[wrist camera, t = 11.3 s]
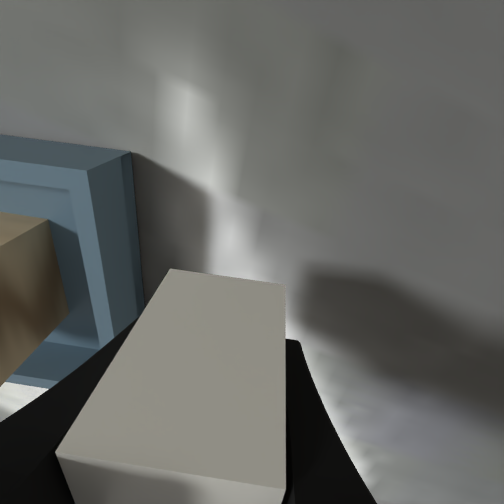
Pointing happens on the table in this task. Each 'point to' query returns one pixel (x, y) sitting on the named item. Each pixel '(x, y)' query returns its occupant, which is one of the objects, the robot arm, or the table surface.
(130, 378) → the cream carton
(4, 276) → the oak block
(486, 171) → the table surface
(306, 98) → the table surface
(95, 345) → the tote
